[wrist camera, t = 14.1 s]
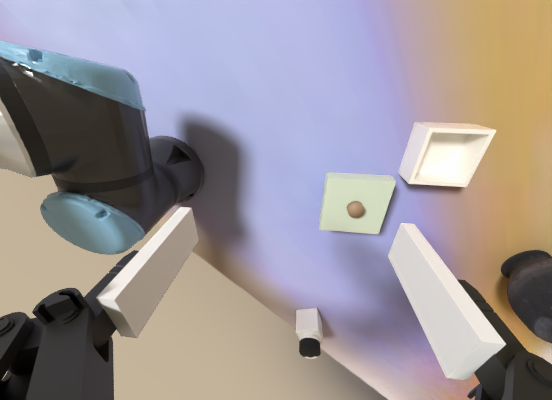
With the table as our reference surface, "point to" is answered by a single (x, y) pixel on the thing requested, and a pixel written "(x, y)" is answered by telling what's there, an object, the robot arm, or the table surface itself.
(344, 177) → the lid
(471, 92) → the table surface
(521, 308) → the pitcher
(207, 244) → the table surface
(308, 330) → the medicine bottle
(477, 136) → the dish
